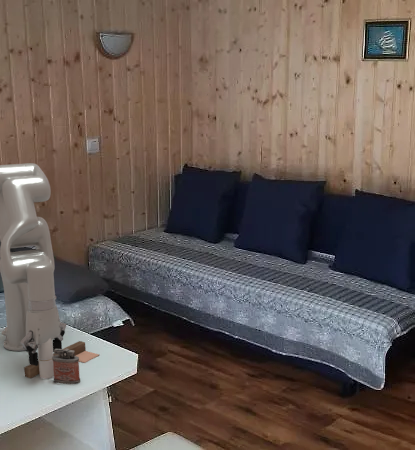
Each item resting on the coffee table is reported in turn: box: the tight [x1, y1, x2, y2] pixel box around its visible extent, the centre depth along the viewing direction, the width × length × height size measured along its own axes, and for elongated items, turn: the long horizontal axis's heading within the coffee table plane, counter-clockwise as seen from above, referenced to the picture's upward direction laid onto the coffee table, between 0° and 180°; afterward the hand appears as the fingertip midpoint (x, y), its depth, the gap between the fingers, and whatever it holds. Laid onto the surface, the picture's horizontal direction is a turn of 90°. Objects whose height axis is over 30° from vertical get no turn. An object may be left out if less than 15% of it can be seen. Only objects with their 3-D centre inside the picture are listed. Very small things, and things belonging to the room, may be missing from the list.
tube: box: [37, 338, 54, 380], centre depth 200 cm, size 4×4×15 cm
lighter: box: [52, 347, 81, 385], centre depth 197 cm, size 8×3×10 cm, turn 78°
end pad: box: [76, 350, 100, 364], centre depth 215 cm, size 6×7×1 cm
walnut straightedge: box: [23, 340, 87, 379], centre depth 210 cm, size 2×24×3 cm, turn 148°
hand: (46, 358), depth 201 cm, fingers open, 9 cm apart
